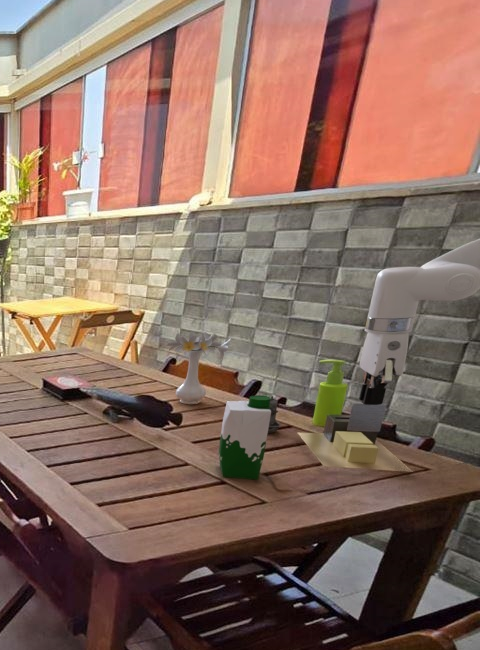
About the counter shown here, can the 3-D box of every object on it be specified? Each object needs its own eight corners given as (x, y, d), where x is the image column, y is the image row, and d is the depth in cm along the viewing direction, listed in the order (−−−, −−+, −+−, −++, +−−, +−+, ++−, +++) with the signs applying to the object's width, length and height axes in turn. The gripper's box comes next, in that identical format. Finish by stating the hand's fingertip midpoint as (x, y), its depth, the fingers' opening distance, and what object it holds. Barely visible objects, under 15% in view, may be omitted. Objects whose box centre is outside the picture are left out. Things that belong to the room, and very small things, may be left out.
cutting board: (370, 439, 133) (371, 435, 133) (412, 476, 113) (413, 471, 113) (296, 436, 140) (297, 432, 140) (323, 470, 120) (324, 466, 120)
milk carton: (263, 481, 119) (276, 403, 112) (218, 478, 123) (228, 402, 116) (256, 467, 126) (269, 392, 119) (214, 464, 130) (224, 391, 123)
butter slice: (371, 460, 120) (375, 445, 119) (375, 463, 118) (378, 448, 117) (344, 458, 122) (348, 443, 121) (347, 461, 121) (351, 446, 119)
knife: (377, 430, 119) (390, 378, 114) (381, 433, 117) (394, 380, 113) (345, 428, 122) (357, 378, 117) (348, 431, 120) (360, 380, 115)
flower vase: (226, 407, 168) (236, 334, 160) (165, 407, 175) (171, 337, 167) (217, 396, 179) (225, 327, 171) (160, 396, 186) (165, 330, 178)
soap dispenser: (309, 422, 148) (322, 357, 142) (340, 426, 143) (354, 359, 137) (304, 427, 145) (317, 361, 138) (335, 432, 140) (350, 363, 133)
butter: (357, 446, 128) (360, 432, 126) (369, 458, 121) (373, 443, 120) (332, 445, 130) (335, 431, 129) (343, 456, 123) (346, 442, 122)
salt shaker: (252, 430, 147) (258, 392, 143) (277, 432, 144) (284, 393, 140) (254, 437, 143) (260, 398, 139) (280, 439, 140) (287, 399, 136)
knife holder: (365, 436, 133) (370, 415, 131) (374, 444, 128) (380, 422, 126) (323, 434, 137) (327, 414, 135) (330, 442, 132) (334, 421, 130)
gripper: (429, 330, 102) (407, 413, 109) (395, 318, 116) (377, 393, 122) (381, 331, 106) (362, 412, 112) (353, 320, 119) (338, 392, 125)
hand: (370, 401), depth 117 cm, fingers closed on knife, 2 cm apart
